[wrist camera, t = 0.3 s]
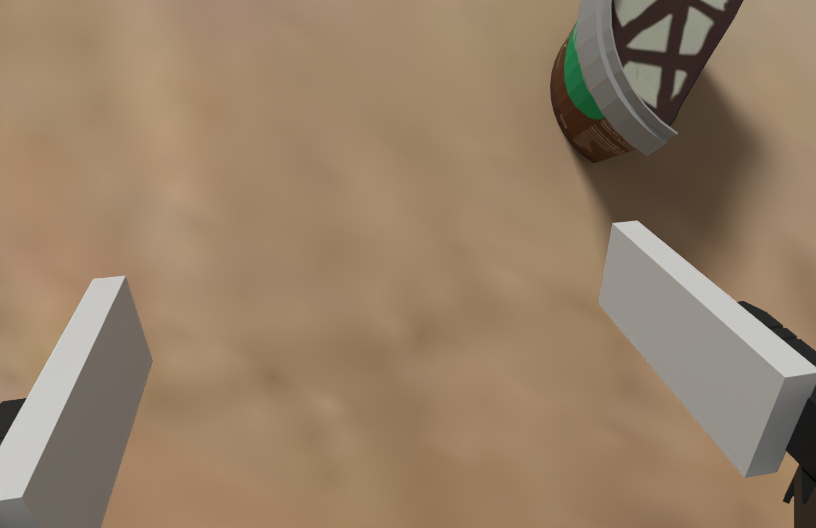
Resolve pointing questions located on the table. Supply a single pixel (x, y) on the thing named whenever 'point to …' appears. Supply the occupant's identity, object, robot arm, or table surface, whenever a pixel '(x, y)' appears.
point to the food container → (632, 70)
